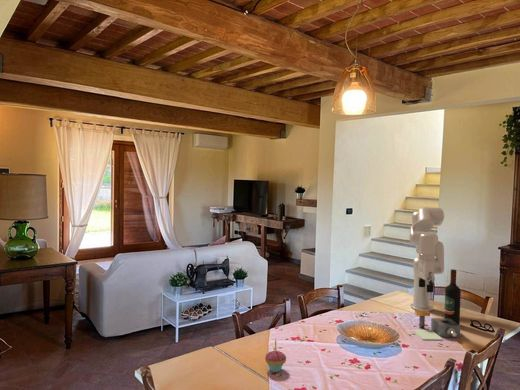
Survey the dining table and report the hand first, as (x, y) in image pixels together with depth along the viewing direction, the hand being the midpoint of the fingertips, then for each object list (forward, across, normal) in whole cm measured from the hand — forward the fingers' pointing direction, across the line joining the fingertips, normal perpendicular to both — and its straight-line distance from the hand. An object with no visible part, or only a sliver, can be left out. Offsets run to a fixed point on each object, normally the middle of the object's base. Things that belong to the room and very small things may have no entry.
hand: (425, 289), depth 201 cm
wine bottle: (+21, -7, +18) cm, 29 cm away
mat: (+21, +9, -2) cm, 23 cm away
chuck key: (+21, -1, -1) cm, 21 cm away
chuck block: (+21, +8, +8) cm, 24 cm away
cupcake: (+21, +48, -80) cm, 96 cm away
